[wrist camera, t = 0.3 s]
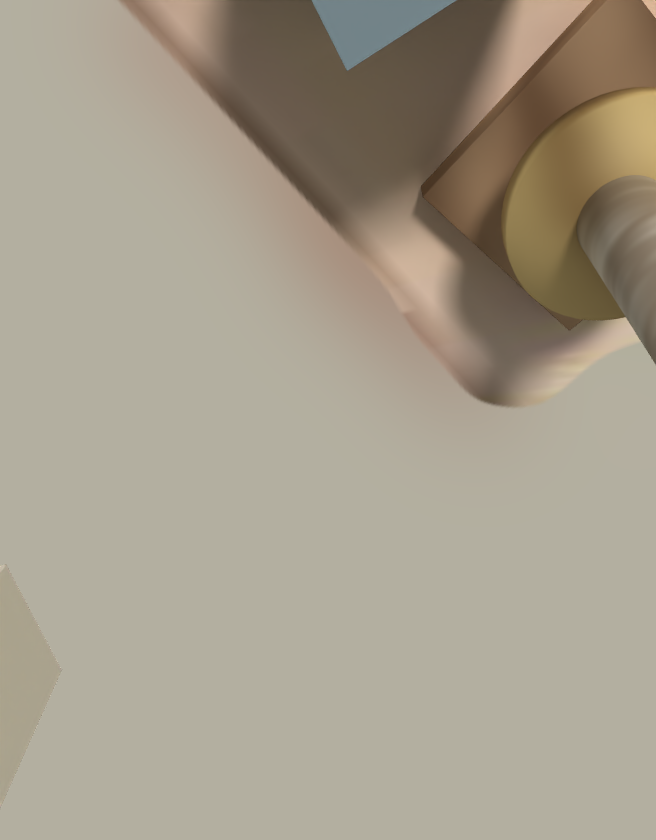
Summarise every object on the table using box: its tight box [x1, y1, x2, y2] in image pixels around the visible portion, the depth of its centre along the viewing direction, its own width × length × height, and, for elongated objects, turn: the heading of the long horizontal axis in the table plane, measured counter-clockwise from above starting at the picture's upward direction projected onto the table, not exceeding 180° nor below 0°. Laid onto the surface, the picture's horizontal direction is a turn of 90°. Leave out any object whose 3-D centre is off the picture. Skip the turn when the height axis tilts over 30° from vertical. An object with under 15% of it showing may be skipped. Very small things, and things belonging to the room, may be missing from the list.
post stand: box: [421, 0, 656, 364], centre depth 23 cm, size 11×11×18 cm
